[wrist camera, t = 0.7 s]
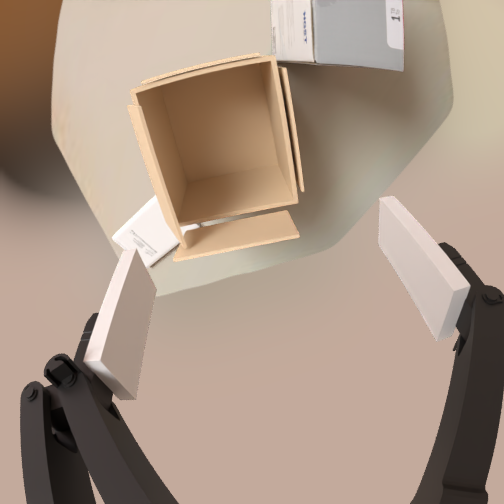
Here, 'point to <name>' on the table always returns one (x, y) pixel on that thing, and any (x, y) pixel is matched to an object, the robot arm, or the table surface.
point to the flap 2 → (237, 235)
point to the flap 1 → (154, 170)
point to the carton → (224, 137)
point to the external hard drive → (149, 233)
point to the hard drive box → (339, 33)
